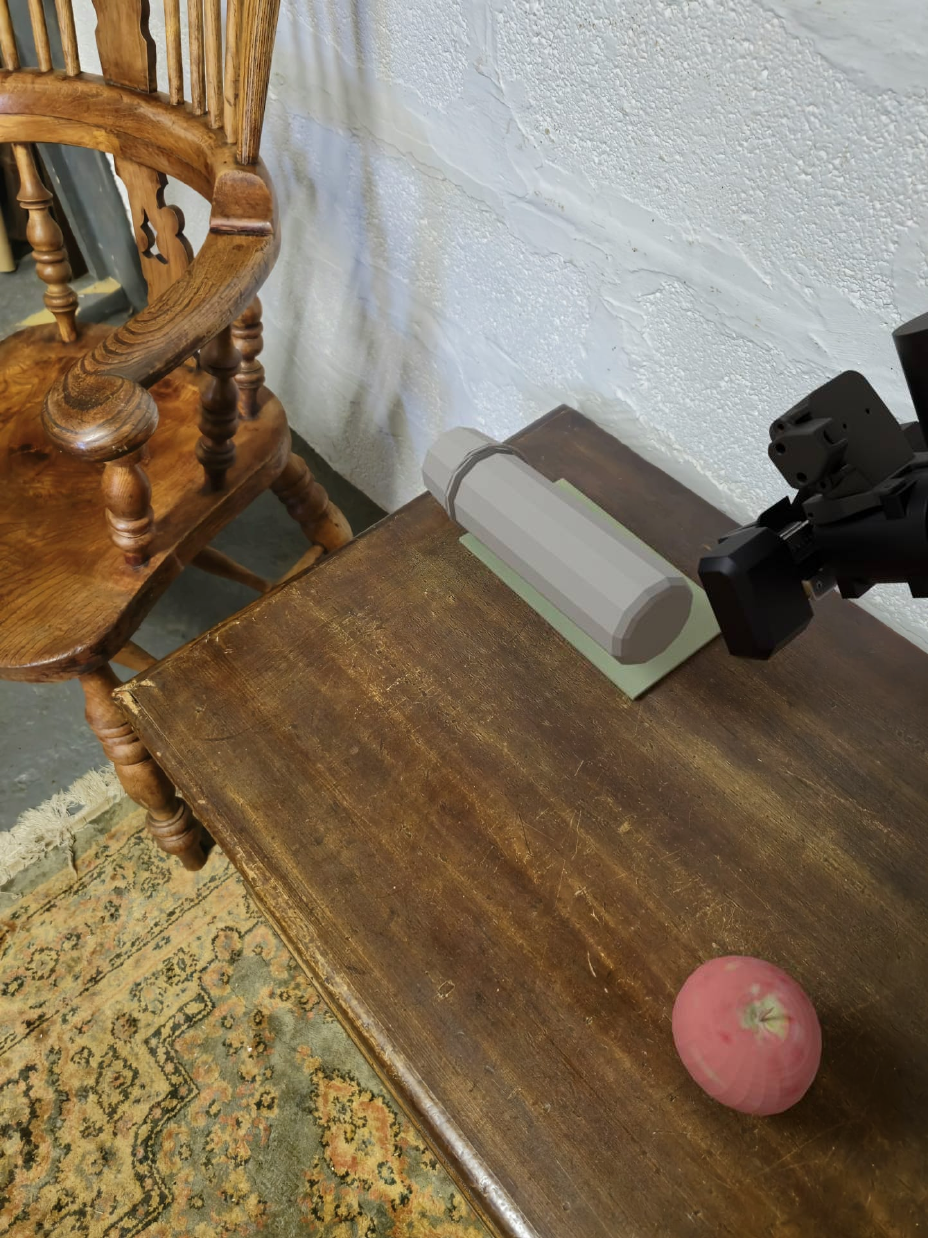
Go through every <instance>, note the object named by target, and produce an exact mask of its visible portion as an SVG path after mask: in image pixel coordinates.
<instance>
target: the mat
mask: <svg viewBox="0 0 928 1238" xmlns="http://www.w3.org/2000/svg"><path fill="white" fill-rule="evenodd" d="M553 483H554V484H555V485H557V486H558V487H559V488H561V489H562V490H564V491H565V492H566V493H568V494H569V495H570V496H572V497H573V498H575V499H576V500H577V501H579V502H580V503H581V504H583V505H584V506H586V507H587V508H588V509H590V510H591V511H593V512H594V513H595V514H597V515H598V516H599V517H601V518H602V519H604V520H605V521H606V522H608V523H609V524H611V525H612V526H613V527H615V528H616V529H617V530H619V531H620V532H622V533H623V534H624V535H626V536H627V537H628V538H630V539H631V540H633V541H634V542H635V543H637V544H638V545H640V546H641V547H642V548H644V549H645V550H646V551H648V552H649V553H651V554H652V555H653V556H655V557H656V558H658V559H659V560H660V561H662V562H663V563H664V564H666V565H667V566H669V567H670V568H671V569H673V570H674V571H675V572H677V573H678V574H680V575H681V576H682V577H683V578H684V579H685V580H686V582H687V583H688V585H689V586H690V588H691V589H692V593H693V600H692V606H691V612H690V616H689V618H688V620H687V622H686V624H685V625H684V627H683V629H682V631H681V633H680V635H679V636H678V637H677V638H676V639H675V640H674V641H673V642H672V643H671V645H670V646H669V647H668V648H667V649H666V650H665V651H664V652H662V653H661V654H659V655H658V656H656V657H654V658H653V659H651V660H649V661H648V662H646V663H643V664H634V665H621V664H620V663H619V662H618V661H617V660H616V659H614V658H613V657H612V656H611V655H610V654H609V653H608V652H606V651H605V650H604V649H603V648H602V647H601V646H599V645H598V644H597V643H596V642H595V641H594V640H593V639H591V638H590V637H589V636H588V635H587V634H586V633H585V632H583V631H582V630H581V629H580V628H579V627H578V626H577V625H575V624H574V623H573V622H572V621H571V620H570V619H568V618H567V617H566V616H565V615H564V614H563V613H562V612H560V611H559V610H558V609H557V608H556V607H555V606H554V605H552V604H551V603H550V602H549V601H548V600H547V599H545V598H544V597H543V596H542V595H541V594H540V593H539V592H537V591H536V590H535V589H534V588H533V587H532V586H531V585H529V584H528V583H527V582H526V581H525V580H524V579H522V578H521V577H520V576H519V575H518V574H517V573H516V572H514V571H513V570H512V569H511V568H510V567H509V566H508V565H506V564H505V563H504V562H503V561H502V560H501V559H499V558H498V557H497V556H496V555H495V554H494V553H493V552H491V551H490V550H489V549H488V548H487V547H486V546H485V545H483V544H482V543H481V542H480V541H479V540H478V539H476V538H475V537H474V536H473V535H472V534H471V533H470V532H467V533H465V534H463V535H462V536H460V537H459V539H458V540H459V542H460V543H461V544H462V545H463V546H464V547H465V548H466V549H467V550H469V551H470V552H471V553H472V554H473V555H474V556H475V557H476V558H477V559H478V560H479V561H480V562H481V563H483V564H484V565H485V566H486V567H487V568H488V569H489V570H490V571H492V572H493V573H494V574H495V575H496V576H497V577H498V578H499V579H500V580H501V581H503V583H504V584H505V585H507V586H508V587H509V588H510V589H511V590H512V591H513V592H514V593H515V594H516V595H518V596H519V597H520V598H521V600H523V601H524V602H525V603H526V604H527V605H529V606H530V607H531V609H533V610H534V611H535V612H536V613H537V614H538V615H539V616H540V617H542V618H543V619H544V620H545V621H546V622H547V623H548V624H549V625H550V626H551V627H552V628H554V629H555V631H557V632H558V633H559V634H560V635H561V636H562V637H563V638H565V640H566V641H567V642H569V643H570V644H571V645H572V646H573V647H574V648H575V649H576V650H577V651H578V652H580V653H581V655H583V656H584V657H585V658H586V659H587V660H588V661H590V663H592V665H594V666H595V667H596V668H597V669H598V670H599V671H600V672H601V673H603V674H604V676H606V677H607V678H608V679H609V680H610V681H611V682H612V683H613V684H615V685H616V686H617V687H618V688H619V689H620V690H621V691H622V692H623V693H625V694H626V695H627V696H628V697H629V699H631V700H632V701H634V700H635V699H637V698H638V697H639V696H641V695H642V694H643V693H645V692H646V691H647V690H648V689H650V688H651V687H652V686H654V685H655V684H656V683H657V682H659V681H660V680H661V679H663V678H664V677H666V676H667V675H668V674H669V673H671V672H672V671H673V670H674V669H676V668H677V667H678V666H679V665H680V664H682V663H684V662H685V661H686V660H687V659H689V658H690V657H691V656H693V655H694V654H695V653H697V652H698V651H699V650H700V649H701V648H703V647H704V646H706V645H707V644H708V643H710V642H711V641H712V640H713V639H714V638H716V637H718V635H720V634H722V633H721V630H720V628H719V625H718V623H717V620H716V618H715V615H714V613H713V610H712V608H711V605H710V603H709V600H708V598H707V595H706V593H705V590H704V588H703V587H702V588H701V587H700V586H699V585H698V584H696V583H695V582H694V581H693V580H692V579H691V578H690V577H688V576H686V575H685V574H684V573H683V572H682V571H680V570H679V569H677V568H676V567H675V566H674V565H673V564H672V563H670V562H669V561H668V560H667V559H665V558H664V557H663V556H662V555H660V554H659V553H658V552H657V551H655V550H654V549H653V548H652V547H650V546H649V545H648V544H646V543H645V542H644V541H643V540H642V539H640V538H639V537H638V536H637V535H635V534H634V533H633V532H631V531H630V530H629V529H628V528H626V527H625V526H624V525H623V524H621V523H620V522H619V521H618V520H616V519H615V518H614V517H613V516H611V515H610V514H609V513H608V512H606V511H605V510H604V509H603V508H601V507H600V506H599V505H598V504H596V502H594V501H593V500H591V499H590V498H589V497H588V496H586V495H585V494H584V493H582V492H581V491H580V489H578V488H576V487H575V486H574V485H572V483H570V482H569V481H567V480H566V479H565V478H564V477H561V478H560V479H558V480H556V481H554V482H553Z"/></svg>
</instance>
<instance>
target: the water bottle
mask: <svg viewBox="0 0 928 1238" xmlns="http://www.w3.org/2000/svg"><path fill="white" fill-rule="evenodd" d="M515 454H516V455H515ZM519 457H520V458H519ZM421 476H422V482H423V485H424V487H425V488H426V489H427V490H428V492H430V494H431V495H432V496H433V497H434V498H435V500H437V502H438V503H439V504H440V505H441V506H442V507H443V508H444V510H445V511H446V514H447V516H448V518H449V519H450V522H452V523H453V524H455V525H456V526H457V527H459V528H460V529H462V530H466V531H467V533H469V532H470V533H471V534H472V535H473V536H474V537H475V538H476V539H478V540H479V541H480V542H481V543H482V544H483V545H485V546H486V547H487V548H488V549H489V550H490V551H491V552H493V553H494V554H495V555H496V556H497V557H498V558H499V559H501V560H502V561H503V562H504V563H505V564H506V565H508V566H509V567H510V568H511V569H512V570H513V571H514V572H516V573H517V574H518V575H519V576H520V577H521V578H522V579H524V580H525V581H526V582H527V583H528V584H529V585H531V586H532V587H533V588H534V589H535V590H536V591H537V592H539V593H540V594H541V595H542V596H543V597H544V598H545V599H547V600H548V601H549V602H550V603H551V604H552V605H554V606H555V607H556V608H557V609H558V610H559V611H560V612H562V613H563V614H564V615H565V616H566V617H567V618H568V619H570V620H571V621H572V622H573V623H574V624H575V625H577V626H578V627H579V628H580V629H581V630H582V631H583V632H585V633H586V634H587V635H588V636H589V637H590V638H591V639H593V640H594V641H595V642H596V643H597V644H598V645H599V646H601V647H602V648H603V649H604V650H605V651H606V652H608V653H609V654H610V655H611V656H612V657H613V658H614V659H616V660H617V661H618V662H619V663H620V664H621V665H634V664H643V663H646V662H648V661H649V660H651V659H653V658H654V657H656V656H658V655H659V654H661V653H662V652H664V651H665V650H666V649H667V648H668V647H669V646H670V645H671V643H672V642H673V641H674V640H675V639H676V638H677V637H678V636H679V635H680V633H681V631H682V629H683V627H684V625H685V624H686V622H687V620H688V618H689V616H690V612H691V606H692V600H693V593H692V589H691V588H690V586H689V585H688V583H687V582H686V580H685V579H684V578H683V577H682V576H681V575H680V574H678V573H677V572H675V571H674V570H673V569H671V568H670V567H669V566H667V565H666V564H664V563H663V562H662V561H660V560H659V559H658V558H656V557H655V556H653V555H652V554H651V553H649V552H648V551H646V550H645V549H644V548H642V547H641V546H640V545H638V544H637V543H635V542H634V541H633V540H631V539H630V538H628V537H627V536H626V535H624V534H623V533H622V532H620V531H619V530H617V529H616V528H615V527H613V526H612V525H611V524H609V523H608V522H606V521H605V520H604V519H602V518H601V517H599V516H598V515H597V514H595V513H594V512H593V511H591V510H590V509H588V508H587V507H586V506H584V505H583V504H581V503H580V502H579V501H577V500H576V499H575V498H573V497H572V496H570V495H569V494H568V493H566V492H565V491H564V490H562V489H561V488H559V487H558V486H557V485H555V484H554V483H555V482H552V481H551V480H550V479H548V478H547V477H546V476H544V475H543V474H541V473H540V472H539V471H538V470H536V469H534V468H533V466H532V465H531V463H530V460H529V459H528V457H527V456H526V455H525V454H524V453H523V452H522V451H520V450H519V449H518V448H517V447H515V446H512V445H509V444H505V443H502V442H500V441H499V440H496V439H495V438H493V437H491V436H489V435H487V434H485V433H483V432H481V431H479V430H478V429H476V428H474V427H467V426H460V425H458V426H456V427H454V428H451V429H450V430H447V431H445V432H443V433H440V435H439V436H438V437H437V438H436V440H435V441H433V443H432V444H431V445H430V446H429V447H428V448H427V450H426V454H425V456H424V459H423V463H422V465H421Z"/></svg>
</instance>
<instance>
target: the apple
mask: <svg viewBox="0 0 928 1238" xmlns="http://www.w3.org/2000/svg"><path fill="white" fill-rule="evenodd" d="M671 1031H672V1035H673V1041H674V1047H675V1049H676V1050H677V1053H678V1055H679V1057H680V1060H681V1061H682V1064H683V1065H684V1067H685V1069H686V1070H687V1071H688V1073H689V1075H690V1076H691V1077H692V1079H693V1081H695V1083H696V1084H698V1086H699V1087H701V1089H703V1091H704V1092H705V1093H706V1094H707V1095H708V1096H710V1097H711V1098H713V1099H715V1100H716V1101H717V1102H718V1103H720V1104H722V1105H723V1106H725V1107H728V1108H731V1109H733V1110H736V1111H738V1112H739V1113H744V1114H749V1115H755V1116H759V1117H760V1116H761V1117H762V1116H763V1117H764V1116H770V1115H775V1114H780V1113H783V1112H785V1111H786V1110H789V1108H791V1107H792V1106H794V1105H795V1104H797V1103H798V1102H800V1100H801V1099H803V1097H804V1095H805V1094H806V1093H807V1091H808V1090H809V1088H810V1087H811V1085H812V1084H813V1082H814V1080H815V1078H816V1075H817V1072H818V1070H819V1067H820V1063H821V1055H822V1050H823V1040H822V1039H823V1038H822V1029H821V1025H820V1021H819V1018H818V1015H817V1011H816V1009H815V1007H814V1006H813V1003H812V1002H811V1000H810V998H809V996H808V995H807V993H806V992H805V991H804V990H803V988H802V987H801V985H800V984H799V982H797V980H795V979H794V978H793V977H791V975H789V974H788V973H787V972H786V971H784V970H783V969H782V968H780V967H778V966H776V965H775V964H773V963H772V962H769V961H767V960H764V959H761V958H757V957H755V956H747V955H737V954H736V955H727V956H719V957H714V958H711V959H710V960H707V961H706V962H705V963H703V964H701V965H700V966H698V967H697V968H696V969H695V970H694V971H693V972H692V973H691V975H689V976H688V978H686V980H685V982H684V984H683V985H682V987H681V989H680V990H679V992H678V994H677V995H676V999H675V1002H674V1006H673V1009H672V1013H671Z"/></svg>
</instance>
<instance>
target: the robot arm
mask: <svg viewBox="0 0 928 1238" xmlns="http://www.w3.org/2000/svg"><path fill="white" fill-rule="evenodd" d="M891 337H892V342H893V344H894V347H895V350H896V354H897V357H898V359H899V363H900V366H901V370H902V373H903V375H904V379H905V383H906V385H907V386H906V387H907V388H908V392H909V395H910V397H911V398H910V399H911V401H912V405H913V408H914V411H915V415H916V417H917V420H914V421H909V422H903V423H900V422H899V421H898V419H897V418H896V416H894V413H892V412H891V410H890V409H889V407H888V406H887V405H886V403H885V402H884V400H883V399H882V398H881V397H880V395H879V394H878V392H877V391H876V390H875V388H874V387H873V386H872V384H871V383H870V382H869V380H868V379H867V378H866V377H865V375H864V374H862V373H860V372H859V371H857V370H854V369H847V370H844V371H843V372H841V373H839V374H837V375H836V376H835V377H833V378H832V379H830V380H829V381H826V382H825V383H824V384H822V385H821V386H819V387H817V388H816V389H813V391H811V392H810V393H808V394H807V395H806V396H805V397H803V398H802V399H801V400H799V401H798V402H796V403H795V404H794V405H793V406H791V407H790V408H789V409H788V410H787V411H785V412H784V413H782V415H780V416H778V418H776V419H774V421H772V422H771V424H770V426H769V429H768V434H769V439H770V440H771V442H769V444H768V446H767V455H768V456H767V457H768V459H770V461H771V462H772V464H773V465H774V466H775V468H776V469H777V470H778V472H779V474H780V475H781V476H782V477H783V479H784V480H785V481H786V483H787V485H788V486H789V487H790V488H792V489H795V490H797V492H796V495H795V496H794V498H793V500H792V502H791V499H790V497H789V495H785V496H784V497H782V498H781V499H779V500H778V501H777V502H775V503H774V504H772V505H771V506H770V507H768V508H767V509H765V510H764V511H762V512H761V513H759V515H758V517H757V519H756V520H754V521H752V522H749V523H747V524H745V525H743V526H740V527H738V528H735V529H733V530H731V531H728V532H726V533H725V534H723V535H722V536H720V537H718V538H717V544H718V545H716V546H715V547H714V548H712V549H711V550H709V551H708V552H706V553H705V554H703V555H702V556H701V557H700V558H699V562H698V567H697V575H698V577H699V580H700V582H701V585H702V589H703V590H704V591H705V593H706V595H707V598H708V600H709V603H710V605H711V608H712V610H713V613H714V615H715V618H716V620H717V623H718V625H719V628H720V630H721V633H720V634H721V635H722V637H723V640H724V643H725V645H726V647H727V650H728V653H729V655H730V656H732V657H734V658H737V659H739V660H749V661H751V660H752V661H753V660H754V661H763V662H765V661H766V662H767V661H769V660H770V659H771V658H773V657H774V656H776V654H777V653H779V652H780V651H782V650H783V649H784V648H785V647H786V646H787V645H788V644H790V643H791V642H792V641H793V640H795V639H796V638H797V637H799V636H800V635H801V634H802V633H803V632H804V631H806V629H807V628H808V626H809V624H810V623H811V621H812V620H813V618H814V616H815V613H814V610H813V608H812V606H811V602H810V601H814V602H816V601H817V602H818V601H820V600H821V599H822V598H824V597H825V596H826V595H828V594H829V593H830V592H831V591H833V590H834V589H835V588H836V587H837V588H838V592H839V594H840V596H841V599H842V600H858V599H860V598H862V597H863V596H864V595H865V594H866V593H867V592H868V591H870V590H871V589H872V588H874V587H875V586H876V585H885V584H907V585H908V588H909V592H910V594H911V598H912V599H928V311H926V312H924V313H921V314H920V315H918V316H915V317H914V318H912V319H910V320H908V321H906V322H904V323H902V324H901V325H899V326H898V327H896V328H895V329H894V330H893V331H892V332H891ZM809 598H810V600H809Z"/></svg>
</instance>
